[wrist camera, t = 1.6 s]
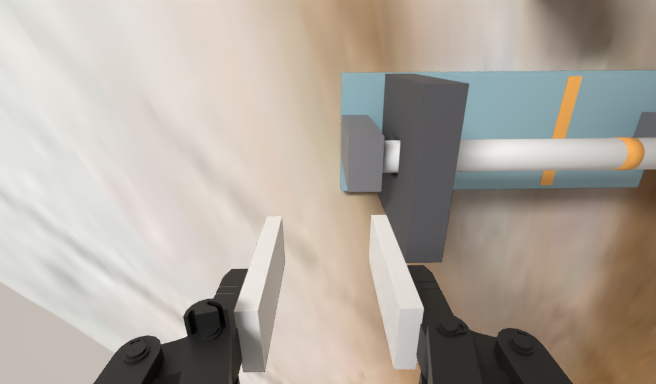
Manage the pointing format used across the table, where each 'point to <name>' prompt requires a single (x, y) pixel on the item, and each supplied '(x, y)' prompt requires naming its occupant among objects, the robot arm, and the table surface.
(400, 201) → the dark grey square plate
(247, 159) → the table surface
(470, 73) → the pipe stand
